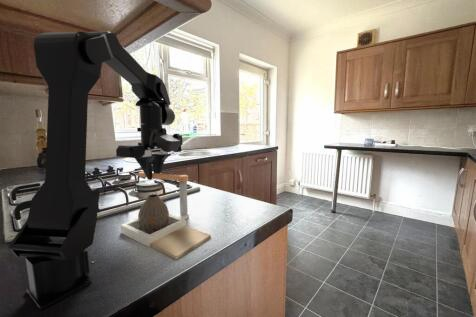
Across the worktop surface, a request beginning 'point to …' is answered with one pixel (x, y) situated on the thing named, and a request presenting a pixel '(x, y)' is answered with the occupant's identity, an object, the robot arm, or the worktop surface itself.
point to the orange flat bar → (166, 176)
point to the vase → (153, 214)
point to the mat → (180, 241)
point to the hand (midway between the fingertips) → (153, 178)
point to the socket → (175, 221)
